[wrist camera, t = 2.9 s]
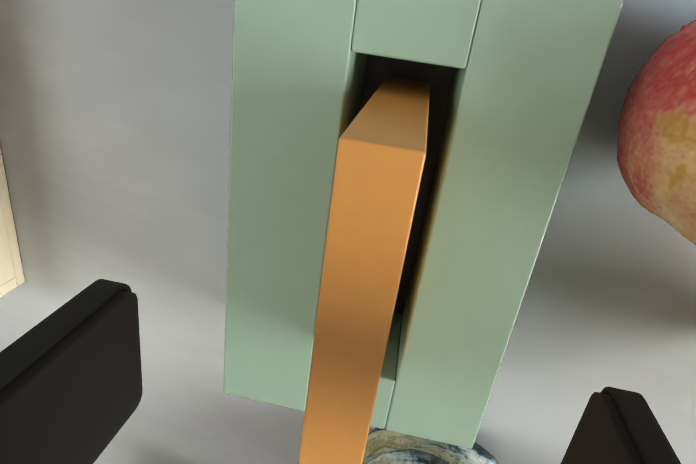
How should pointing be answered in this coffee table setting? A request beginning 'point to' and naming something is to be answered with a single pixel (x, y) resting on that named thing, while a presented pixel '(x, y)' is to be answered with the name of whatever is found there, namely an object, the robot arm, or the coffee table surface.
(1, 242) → the tray
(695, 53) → the fruit
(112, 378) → the robot arm
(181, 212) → the coffee table surface
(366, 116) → the toast
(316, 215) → the toaster
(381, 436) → the seashell
